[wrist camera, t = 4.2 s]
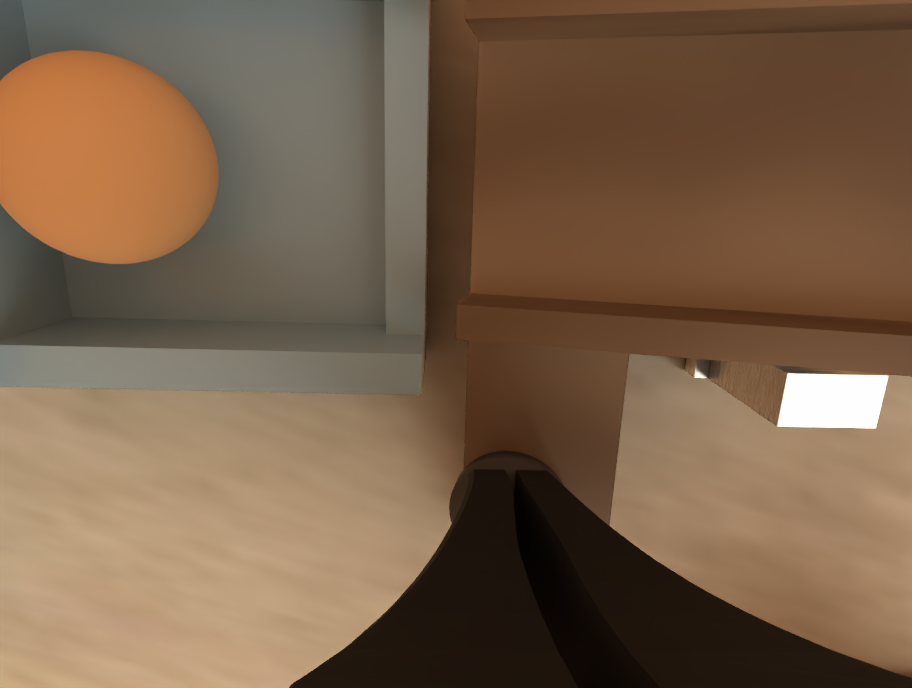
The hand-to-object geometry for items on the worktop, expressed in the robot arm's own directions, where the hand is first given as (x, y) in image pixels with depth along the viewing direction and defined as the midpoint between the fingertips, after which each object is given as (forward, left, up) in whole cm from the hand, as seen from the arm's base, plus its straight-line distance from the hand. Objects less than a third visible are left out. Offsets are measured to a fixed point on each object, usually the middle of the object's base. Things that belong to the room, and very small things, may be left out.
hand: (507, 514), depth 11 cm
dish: (+6, +6, -3) cm, 9 cm away
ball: (+6, +7, -1) cm, 10 cm away
